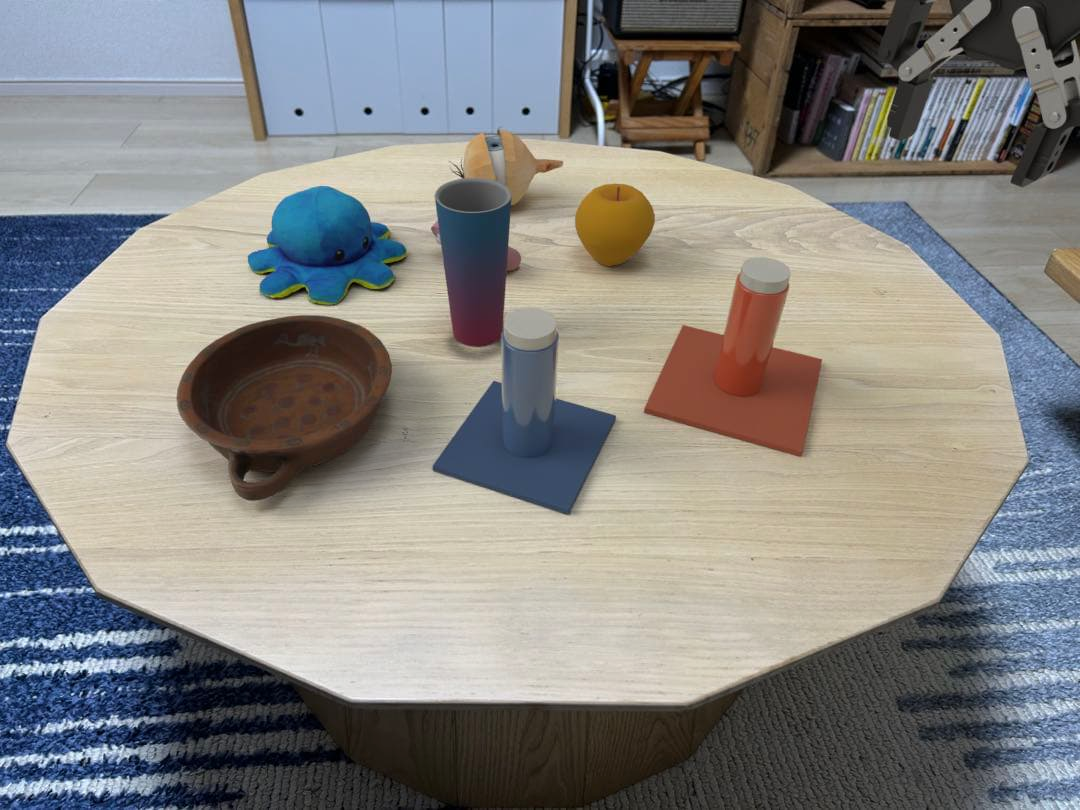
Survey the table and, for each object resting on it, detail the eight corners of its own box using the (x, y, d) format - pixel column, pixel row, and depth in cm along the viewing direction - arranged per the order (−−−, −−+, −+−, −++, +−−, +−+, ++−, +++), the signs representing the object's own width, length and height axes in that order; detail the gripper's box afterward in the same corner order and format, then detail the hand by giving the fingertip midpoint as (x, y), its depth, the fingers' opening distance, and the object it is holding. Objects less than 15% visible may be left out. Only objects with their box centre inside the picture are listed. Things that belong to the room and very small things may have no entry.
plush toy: (286, 220, 94) (272, 154, 89) (421, 233, 92) (415, 168, 87) (224, 294, 82) (204, 223, 76) (379, 311, 80) (369, 240, 75)
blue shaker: (561, 430, 66) (568, 313, 58) (542, 463, 63) (546, 345, 55) (514, 416, 68) (515, 300, 60) (493, 448, 64) (491, 331, 56)
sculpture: (431, 130, 96) (548, 97, 95) (452, 191, 103) (560, 161, 102) (439, 174, 90) (562, 139, 89) (460, 234, 97) (575, 203, 96)
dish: (408, 342, 76) (404, 299, 73) (381, 512, 60) (374, 467, 56) (230, 341, 76) (217, 299, 72) (153, 513, 59) (132, 468, 56)
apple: (653, 282, 86) (663, 208, 80) (573, 279, 86) (577, 206, 80) (646, 242, 92) (655, 171, 86) (572, 239, 92) (576, 168, 86)
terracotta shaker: (771, 384, 72) (804, 272, 64) (739, 403, 70) (769, 289, 62) (735, 361, 74) (762, 250, 66) (704, 378, 72) (728, 265, 64)
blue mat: (615, 420, 68) (616, 415, 68) (568, 515, 60) (569, 510, 60) (493, 385, 72) (493, 380, 71) (432, 470, 63) (432, 465, 63)
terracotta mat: (820, 363, 75) (822, 359, 75) (800, 456, 66) (802, 451, 65) (681, 329, 79) (682, 324, 79) (643, 412, 69) (644, 407, 69)
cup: (457, 358, 74) (449, 218, 65) (435, 320, 79) (424, 184, 69) (521, 342, 77) (523, 204, 67) (496, 306, 81) (494, 172, 71)
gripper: (914, -158, 42) (832, 136, 52) (1207, -124, 33) (1038, 217, 44) (986, -163, 45) (896, 113, 56) (1268, -134, 37) (1098, 184, 47)
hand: (959, 158), depth 50 cm, fingers open, 8 cm apart
